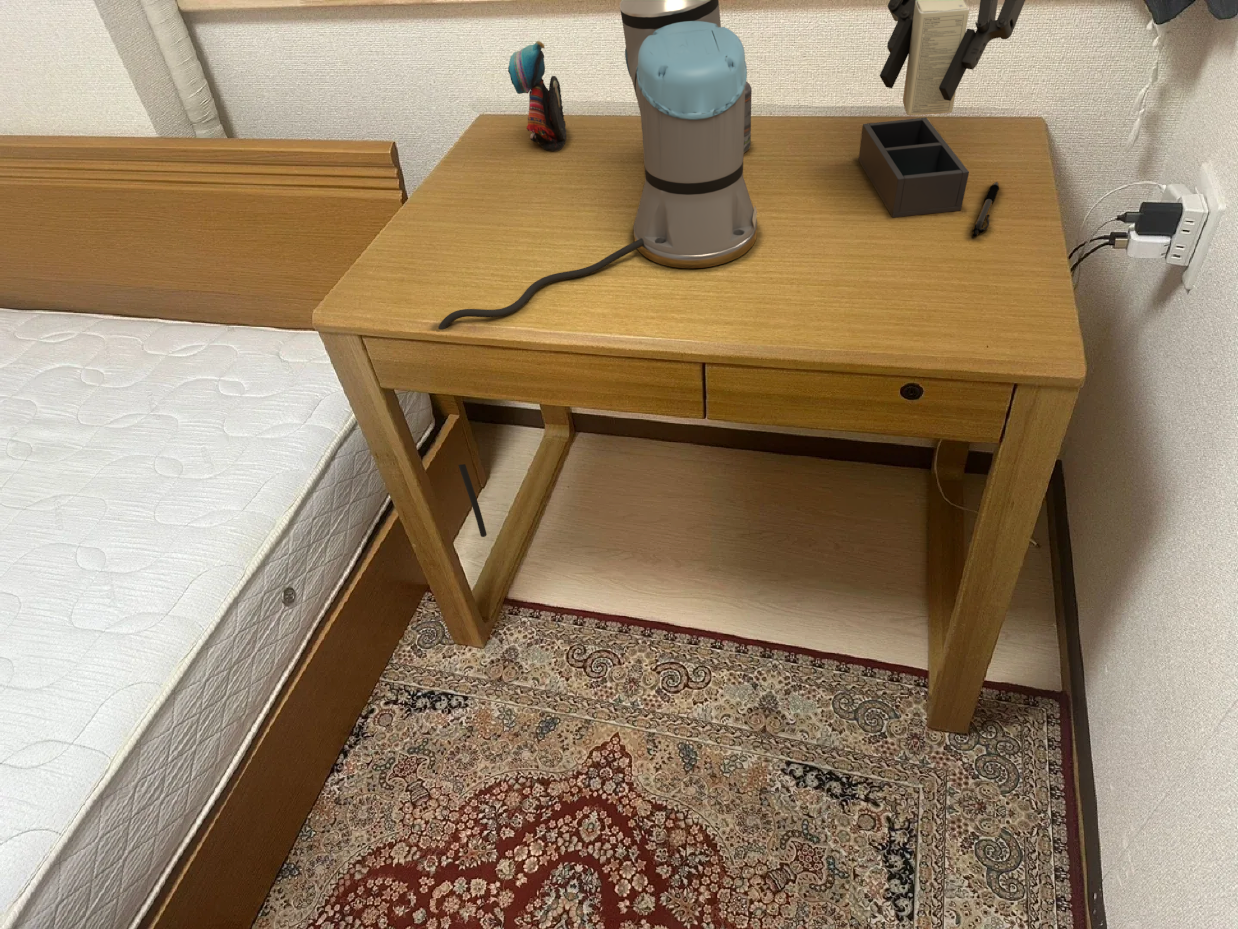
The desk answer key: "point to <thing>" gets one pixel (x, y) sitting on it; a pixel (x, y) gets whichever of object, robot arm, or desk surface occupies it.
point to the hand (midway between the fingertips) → (914, 87)
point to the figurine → (539, 97)
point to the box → (932, 53)
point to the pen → (985, 210)
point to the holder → (912, 167)
